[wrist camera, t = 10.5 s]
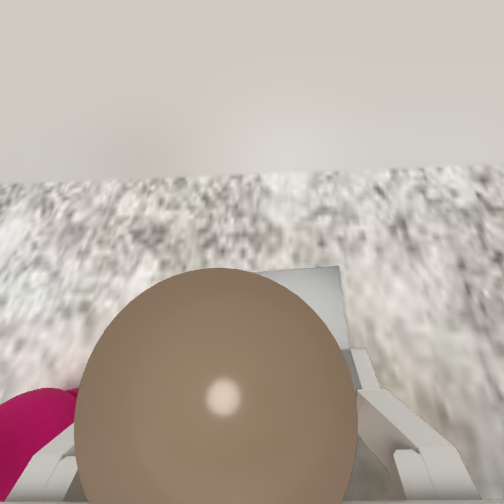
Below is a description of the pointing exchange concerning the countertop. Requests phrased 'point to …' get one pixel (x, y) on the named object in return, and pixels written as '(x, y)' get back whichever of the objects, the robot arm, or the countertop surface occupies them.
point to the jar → (216, 398)
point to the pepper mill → (31, 429)
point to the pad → (318, 295)
